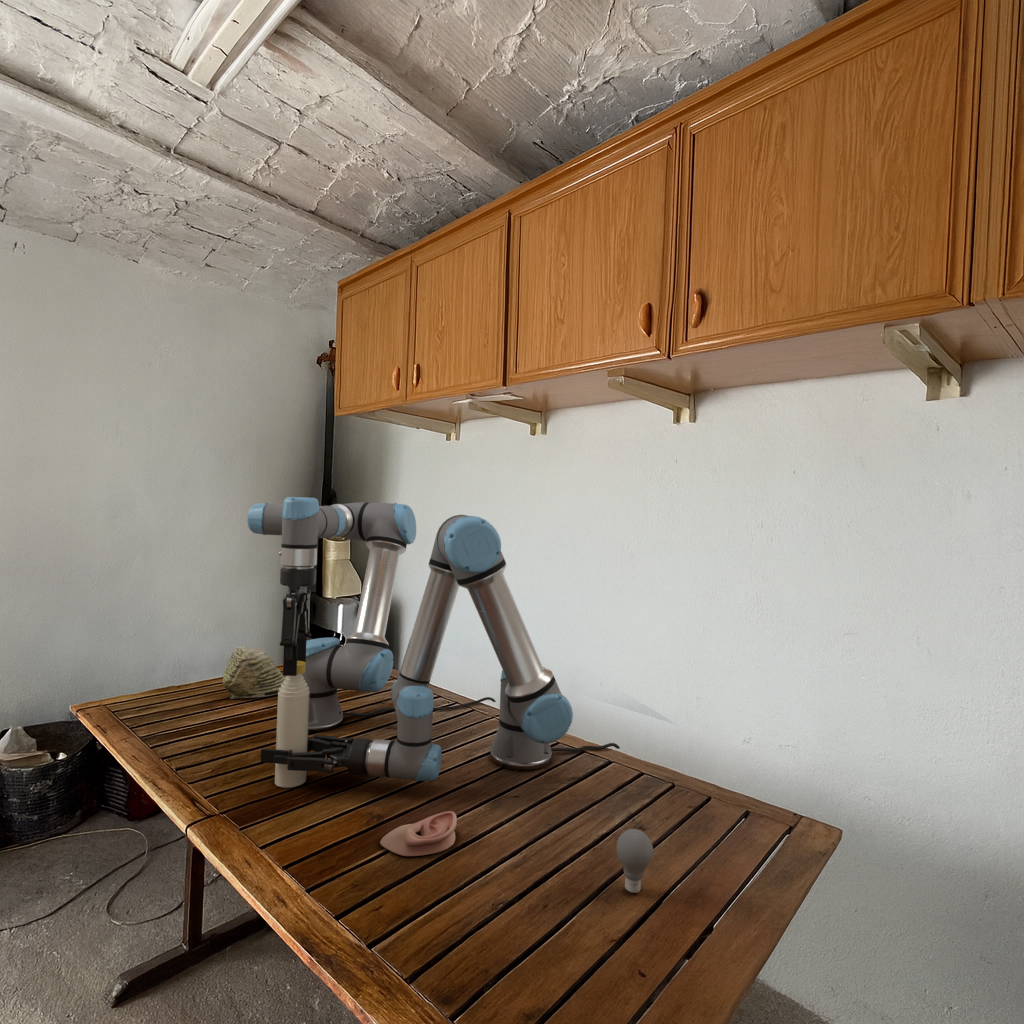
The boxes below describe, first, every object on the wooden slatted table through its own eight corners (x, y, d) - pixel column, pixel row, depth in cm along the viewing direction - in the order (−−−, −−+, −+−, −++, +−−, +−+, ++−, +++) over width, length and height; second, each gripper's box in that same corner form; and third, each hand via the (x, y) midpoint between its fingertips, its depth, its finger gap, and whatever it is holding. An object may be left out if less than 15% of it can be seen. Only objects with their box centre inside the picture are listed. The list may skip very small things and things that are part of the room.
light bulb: (610, 879, 108) (613, 822, 108) (644, 879, 109) (647, 822, 109) (619, 902, 102) (622, 840, 102) (655, 901, 103) (658, 840, 103)
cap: (279, 673, 138) (280, 665, 138) (289, 668, 143) (290, 660, 143) (299, 675, 138) (299, 666, 138) (308, 670, 142) (309, 661, 142)
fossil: (218, 695, 195) (220, 647, 195) (278, 685, 208) (279, 640, 207) (228, 703, 189) (230, 653, 188) (289, 692, 201) (290, 645, 201)
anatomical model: (373, 829, 114) (398, 800, 125) (372, 851, 114) (397, 820, 125) (444, 840, 111) (462, 809, 122) (443, 863, 111) (461, 830, 122)
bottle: (302, 787, 138) (307, 670, 137) (271, 787, 137) (275, 670, 136) (309, 774, 144) (313, 662, 144) (278, 774, 143) (282, 662, 143)
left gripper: (293, 561, 149) (289, 658, 150) (266, 571, 130) (262, 683, 130) (325, 563, 150) (322, 659, 150) (304, 572, 130) (300, 684, 130)
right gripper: (353, 794, 129) (246, 784, 131) (383, 756, 148) (289, 748, 151) (355, 758, 129) (247, 748, 131) (384, 724, 148) (290, 717, 151)
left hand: (294, 670), depth 140 cm, fingers open, 7 cm apart
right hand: (270, 748), depth 141 cm, fingers closed on bottle, 7 cm apart
